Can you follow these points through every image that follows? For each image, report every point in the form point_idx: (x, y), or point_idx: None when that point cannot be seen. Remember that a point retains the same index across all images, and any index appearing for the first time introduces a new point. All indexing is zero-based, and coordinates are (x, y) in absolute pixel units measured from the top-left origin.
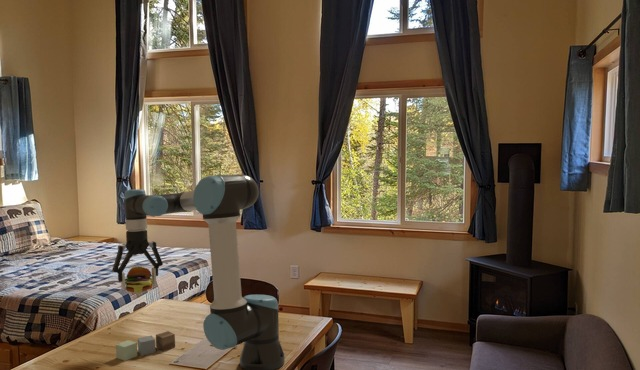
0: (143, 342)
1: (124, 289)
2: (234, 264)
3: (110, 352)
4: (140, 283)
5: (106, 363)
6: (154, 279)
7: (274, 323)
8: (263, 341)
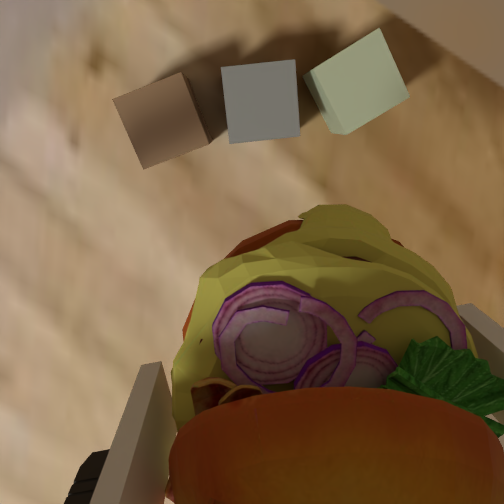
0: (279, 62)
1: (465, 309)
2: None
3: (398, 183)
4: (328, 261)
5: (432, 53)
6: (145, 401)
7: None
8: None
